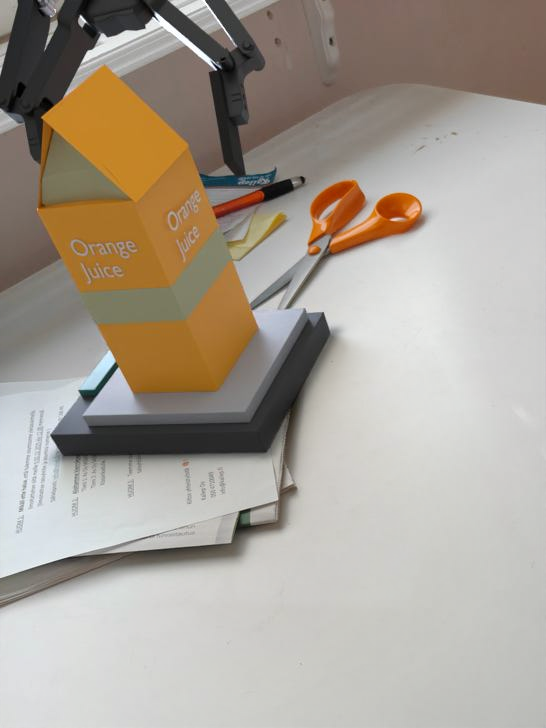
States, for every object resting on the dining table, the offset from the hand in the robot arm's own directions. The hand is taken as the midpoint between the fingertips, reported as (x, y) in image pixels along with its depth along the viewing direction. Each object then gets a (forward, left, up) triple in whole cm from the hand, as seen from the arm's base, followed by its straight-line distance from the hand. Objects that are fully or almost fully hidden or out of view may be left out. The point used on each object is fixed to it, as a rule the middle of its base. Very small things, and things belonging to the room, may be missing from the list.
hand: (148, 188), depth 72 cm
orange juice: (+2, -6, -11) cm, 13 cm away
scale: (+1, -6, -14) cm, 15 cm away
